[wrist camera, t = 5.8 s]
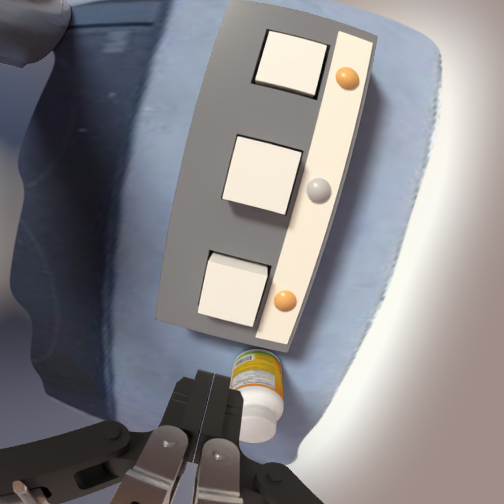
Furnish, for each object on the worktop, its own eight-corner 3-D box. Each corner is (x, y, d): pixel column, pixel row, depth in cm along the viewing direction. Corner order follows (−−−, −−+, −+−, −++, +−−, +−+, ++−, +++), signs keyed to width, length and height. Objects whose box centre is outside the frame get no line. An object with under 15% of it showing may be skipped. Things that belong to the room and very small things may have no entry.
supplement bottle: (273, 387, 33) (273, 451, 24) (228, 377, 33) (217, 440, 23) (288, 353, 31) (293, 418, 22) (240, 341, 31) (230, 405, 22)
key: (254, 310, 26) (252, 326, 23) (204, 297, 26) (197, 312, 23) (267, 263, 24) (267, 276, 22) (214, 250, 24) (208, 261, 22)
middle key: (282, 208, 23) (284, 214, 20) (227, 194, 23) (222, 198, 20) (297, 154, 22) (301, 152, 19) (241, 139, 22) (237, 136, 19)
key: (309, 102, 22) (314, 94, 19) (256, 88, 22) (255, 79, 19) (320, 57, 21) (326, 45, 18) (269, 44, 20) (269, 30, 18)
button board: (284, 324, 30) (287, 355, 25) (171, 295, 30) (154, 320, 25) (360, 54, 22) (379, 34, 17) (236, 23, 22) (230, -4, 17)
